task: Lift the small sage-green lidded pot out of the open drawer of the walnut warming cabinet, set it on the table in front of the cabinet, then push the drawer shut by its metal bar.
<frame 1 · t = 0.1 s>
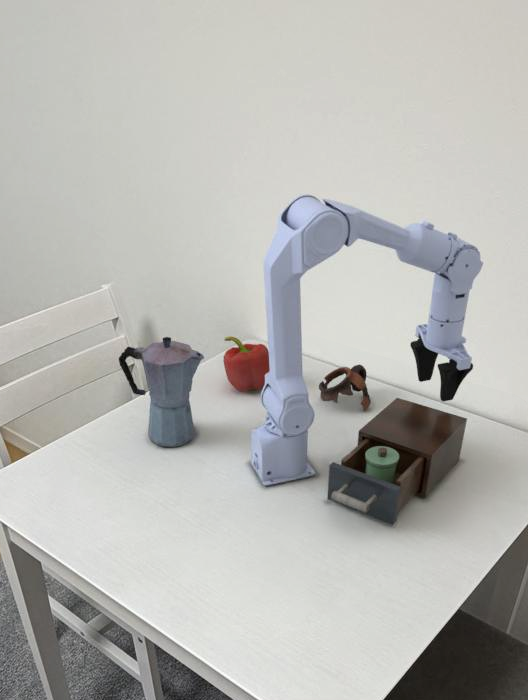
hand: (435, 389, 121), 10 cm above the table, tool pointing down, fingers open, 7 cm apart
vegetable: (246, 386, 146), on the table
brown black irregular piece: (347, 402, 139), on the table
cabinet: (407, 466, 120), on the table
moka pot: (170, 436, 131), on the table
drawer: (374, 482, 110), point 4 cm above the table, slide at 9.0 cm, touching pot
pot: (378, 488, 112), point 2 cm above the table, touching drawer
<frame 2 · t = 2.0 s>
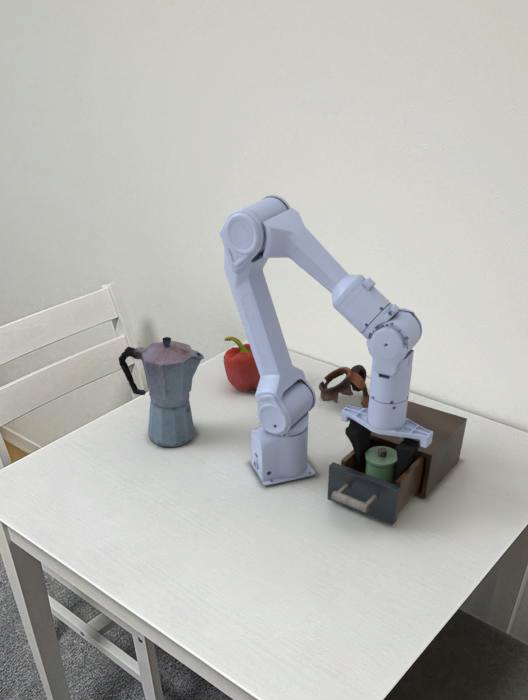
hand: (381, 470, 110), 6 cm above the table, tool pointing down, fingers open, 6 cm apart
drawer: (374, 482, 110), point 4 cm above the table, slide at 9.0 cm, touching gripper, pot
everything else where it was.
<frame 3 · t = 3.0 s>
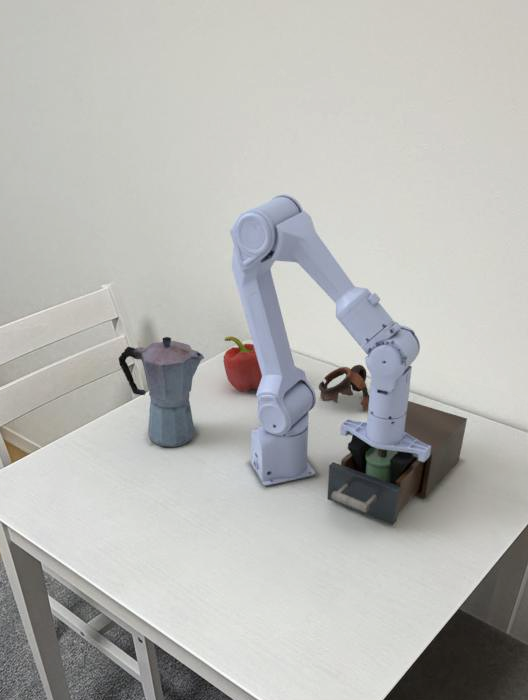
hand: (379, 483, 111), 3 cm above the table, tool pointing down, fingers closed on pot, 5 cm apart
pot: (378, 488, 112), point 2 cm above the table, touching drawer, gripper
everything else where it was.
when the fingers open (1 cm above the table, at t = 9.0 s): pot stays where it is, on the table.
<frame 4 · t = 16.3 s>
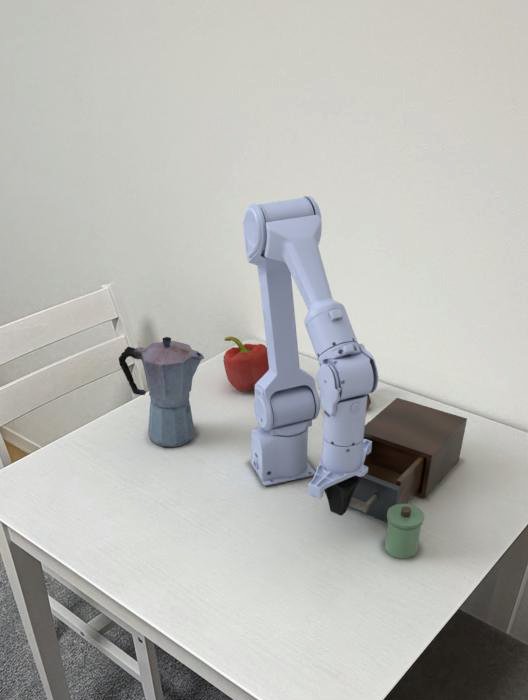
hand: (338, 511, 105), 4 cm above the table, tool pointing down, fingers closed
drawer: (374, 482, 110), point 4 cm above the table, slide at 9.0 cm, touching gripper
pot: (400, 548, 103), on the table
everything else where it was.
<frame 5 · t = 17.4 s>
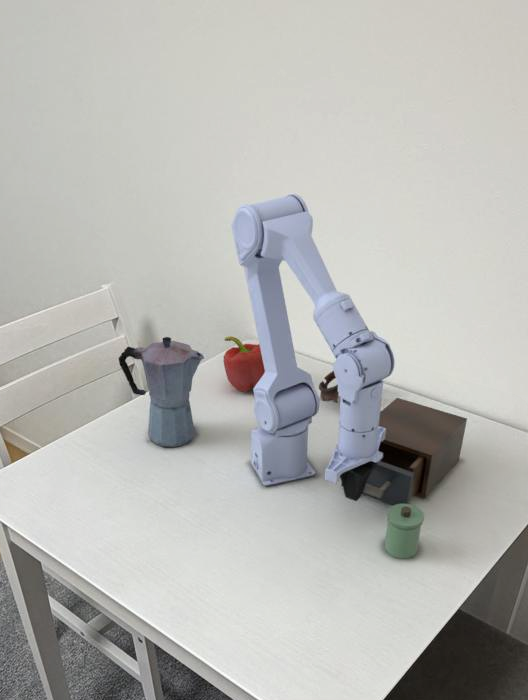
hand: (352, 497, 107), 4 cm above the table, tool pointing down, fingers closed
drawer: (387, 469, 112), point 4 cm above the table, slide at 4.6 cm, touching gripper
everything else where it was.
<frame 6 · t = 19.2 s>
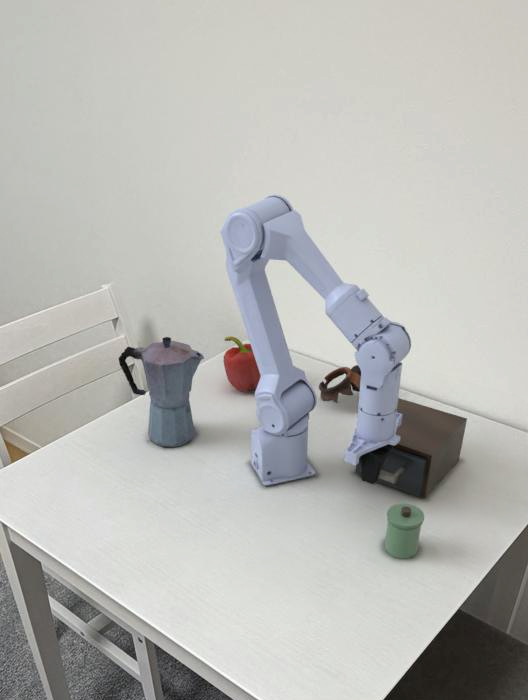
hand: (369, 480, 111), 4 cm above the table, tool pointing down, fingers closed, pressing on drawer
drawer: (400, 456, 115), point 4 cm above the table, slide at 0.0 cm, touching cabinet, gripper
everything else where it was.
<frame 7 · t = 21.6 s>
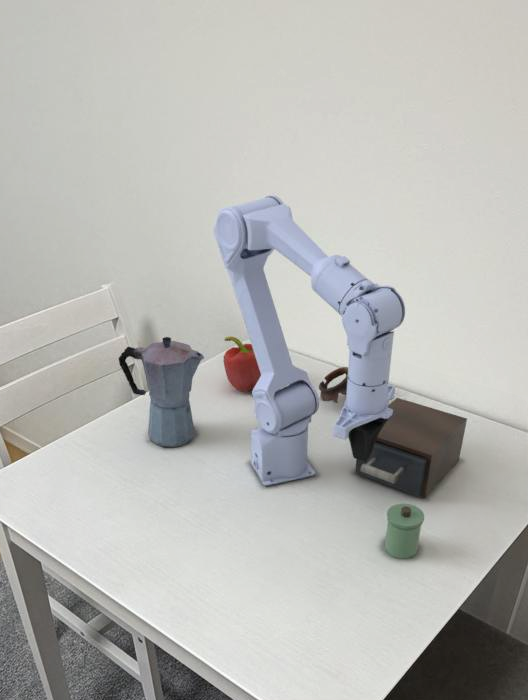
hand: (361, 457, 104), 10 cm above the table, tool pointing down, fingers closed
drawer: (400, 456, 115), point 4 cm above the table, slide at 0.0 cm, touching cabinet
everything else where it was.
at the end: pot 0.1 cm from the target spot, on the table; pot tilted 0°; drawer slide at 0.0 cm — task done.
